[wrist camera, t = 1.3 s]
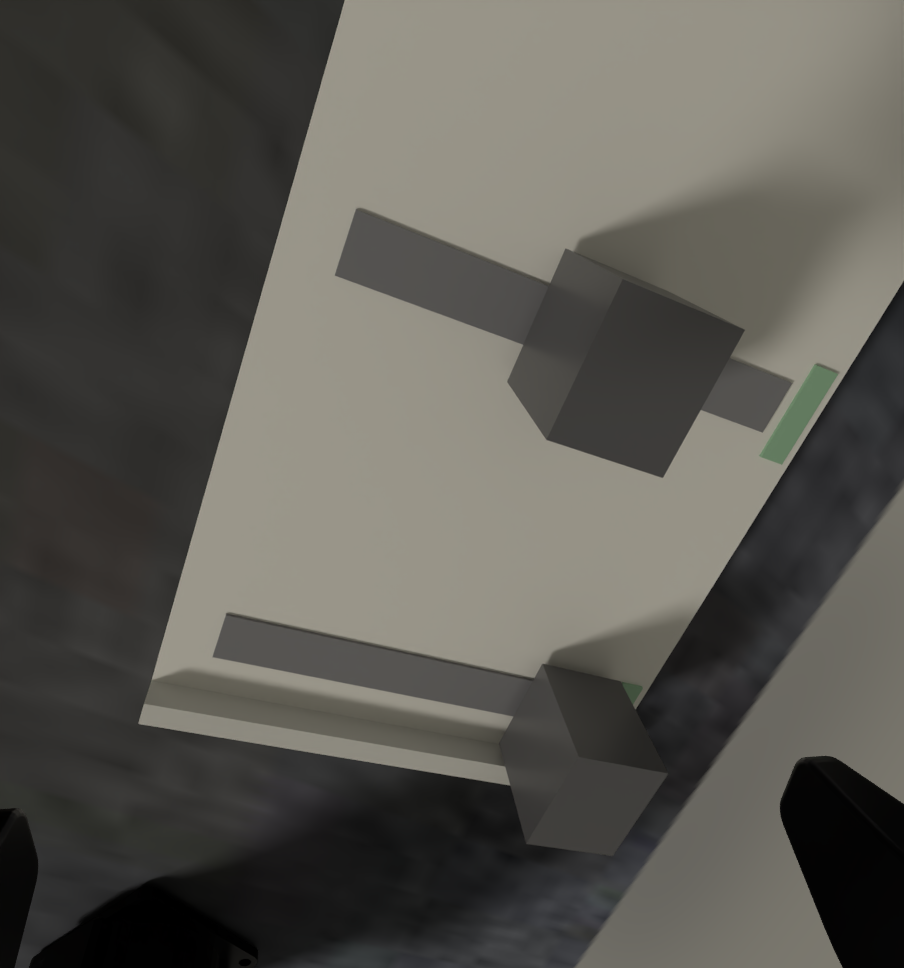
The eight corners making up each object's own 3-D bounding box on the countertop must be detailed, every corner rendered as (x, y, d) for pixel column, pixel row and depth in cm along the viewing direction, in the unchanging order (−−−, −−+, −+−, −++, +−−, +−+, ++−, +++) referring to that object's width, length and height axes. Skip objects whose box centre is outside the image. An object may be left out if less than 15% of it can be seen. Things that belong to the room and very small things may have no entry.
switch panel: (1127, -159, 17) (1244, -201, 15) (580, 747, 28) (601, 800, 26) (531, -648, 12) (574, -814, 10) (156, 667, 24) (138, 723, 21)
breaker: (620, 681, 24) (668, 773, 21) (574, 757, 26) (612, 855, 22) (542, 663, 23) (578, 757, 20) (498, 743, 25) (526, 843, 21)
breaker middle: (667, 291, 18) (745, 330, 15) (605, 416, 20) (663, 478, 16) (565, 248, 18) (622, 278, 14) (506, 381, 19) (546, 440, 15)
